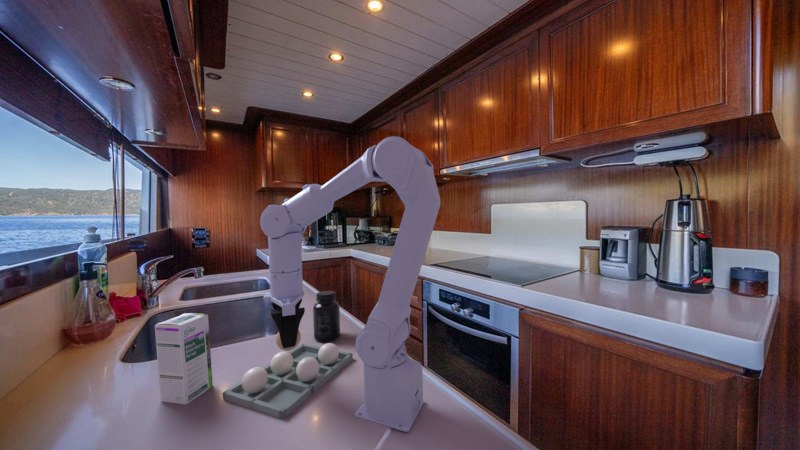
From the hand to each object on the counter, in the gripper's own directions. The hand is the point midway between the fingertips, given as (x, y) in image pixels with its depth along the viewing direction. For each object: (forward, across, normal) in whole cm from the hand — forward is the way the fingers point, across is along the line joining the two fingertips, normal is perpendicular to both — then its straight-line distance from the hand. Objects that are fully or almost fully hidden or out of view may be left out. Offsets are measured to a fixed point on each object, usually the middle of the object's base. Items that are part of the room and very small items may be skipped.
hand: (288, 341), depth 56 cm
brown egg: (+2, 0, 0) cm, 2 cm away
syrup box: (+9, -5, -18) cm, 21 cm away
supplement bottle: (+9, -20, +10) cm, 24 cm away
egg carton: (+9, -3, +1) cm, 9 cm away
